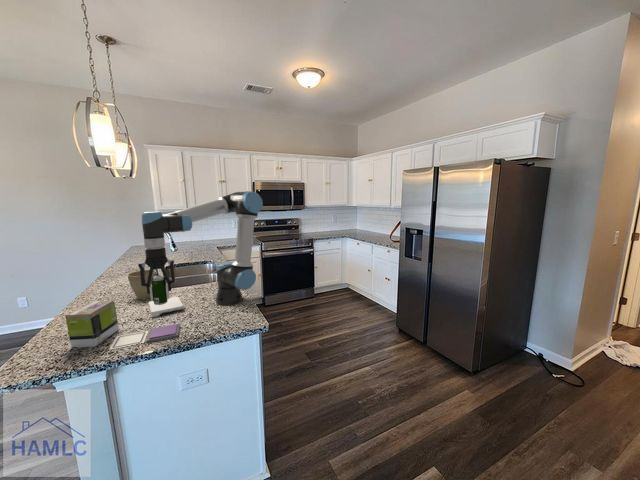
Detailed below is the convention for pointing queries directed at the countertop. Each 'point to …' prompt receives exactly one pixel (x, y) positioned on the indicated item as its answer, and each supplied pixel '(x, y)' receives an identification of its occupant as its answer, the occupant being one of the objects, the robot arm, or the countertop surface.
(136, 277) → the plant pot
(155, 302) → the beer can
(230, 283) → the robot arm
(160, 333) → the ink pad
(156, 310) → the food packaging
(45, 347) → the countertop surface
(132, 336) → the print sheet
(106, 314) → the tea box
